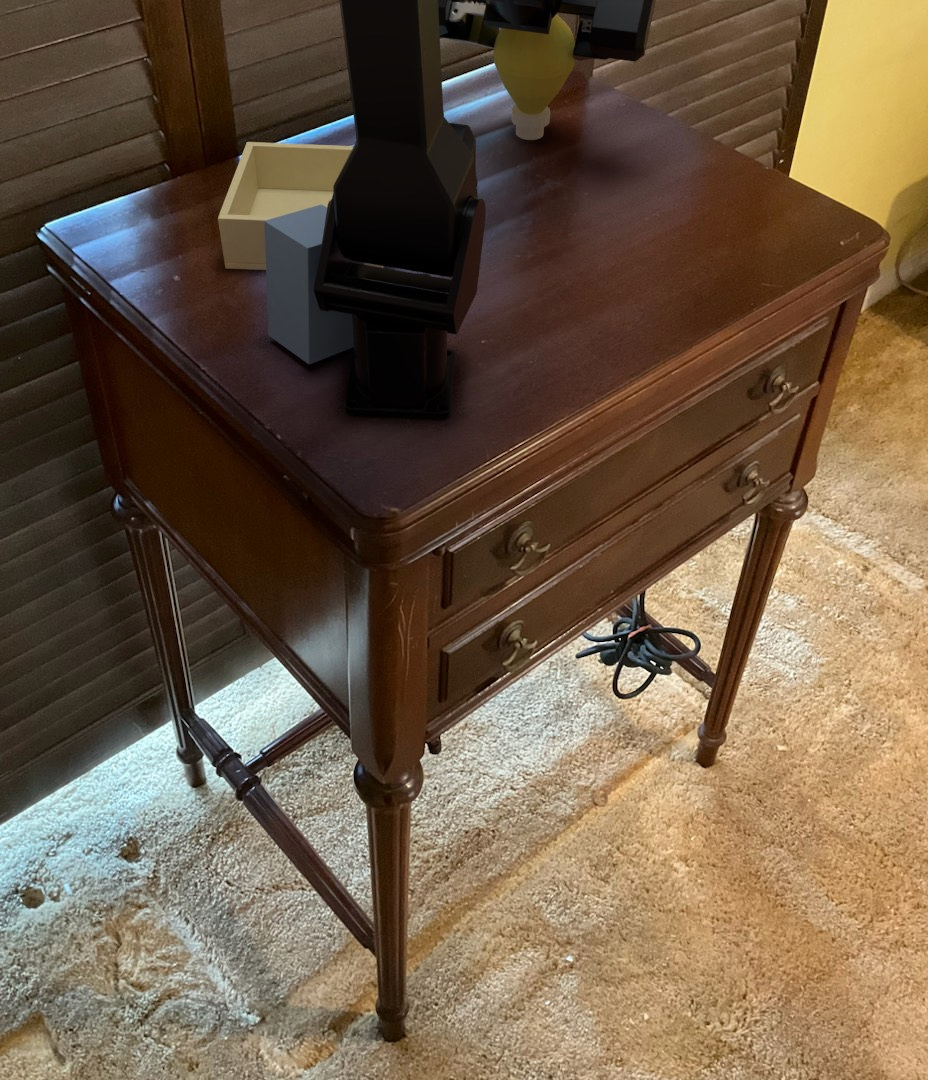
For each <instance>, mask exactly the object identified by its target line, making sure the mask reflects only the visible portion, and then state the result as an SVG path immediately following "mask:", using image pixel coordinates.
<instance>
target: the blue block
mask: <svg viewBox="0 0 928 1080" xmlns="http://www.w3.org/2000/svg"><path fill="white" fill-rule="evenodd" d="M326 213H327V207H325V206H324V205H318V206H314V207H311V208H307V209H304V210H300V211H297V212H293V213H290V214H286V215H283V216H279V217H276V218H272V219H269V220H265V221H264V227H265V254H266V270H265V277H266V281H265V282H266V305H267V333H268V337H270V338H271V339H273V340H274V341H275V342H277V343H278V344H279V345H281V346H282V347H284V348H285V349H287V350H288V351H289V352H290V353H292V354H294V355H295V356H296V357H298V358H299V359H300V360H302V361H303V362H304V363H306V364H307V365H312V364H314V363H317V362H320V361H322V360H324V359H327V358H330V357H332V356H334V355H338V354H340V353H343V352H345V351H348V350H351V349H354V342H353V326H352V314H348V313H342V312H337V311H331V310H330V311H329V312H328V311H323V310H320V309H319V306H318V303H317V300H316V297H315V293H314V284H315V279H316V274H317V269H318V264H319V259H320V252H321V246H322V239H323V232H324V226H325V219H326ZM355 263H357V264H363V265H365V263H363V262H357V261H355Z"/></svg>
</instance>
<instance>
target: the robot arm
mask: <svg viewBox="0 0 928 1080" xmlns="http://www.w3.org/2000/svg"><path fill="white" fill-rule="evenodd" d="M338 1H339V10H340V16H341V17H340V18H341V25H342V34H343V41H344V48H345V57H346V64H347V65H346V66H347V73H348V81H349V89H350V97H351V105H352V106H351V107H352V113H353V121H354V129H355V130H354V131H355V143H354V145H353V146H354V147H353V149H352V151H351V152H350V154H349V156H348V158H347V160H346V162H345V164H344V166H343V168H342V170H341V172H340V174H339V176H338V178H337V180H336V181H335V183H334V186H333V196H332V199H331V200H330V201H329V202H328V206H327V213H326V219H325V226H324V232H323V239H322V246H321V252H320V259H319V264H318V269H317V274H316V279H315V284H314V293H315V297H316V300H317V303H318V306H319V309H320V310H323V311H328V312H329V311H330V310H331V311H337V312H342V313H348V314H352V326H353V342H354V347H353V356H352V361H351V368H350V372H349V377H348V381H347V382H348V383H347V388H346V393H345V399H344V411H345V412H346V413H347V414H350V415H365V416H366V415H367V416H390V417H410V418H411V417H412V418H433V419H435V418H436V419H437V418H438V419H447V418H448V417H450V416H451V413H452V412H451V411H452V399H453V389H454V375H455V365H456V364H455V363H456V352H455V350H453V349H450V348H448V334H450V335H451V334H452V335H458V333H459V331H460V329H461V327H462V325H463V323H464V320H465V318H466V316H467V314H468V312H469V310H470V308H471V306H472V304H473V301H474V299H475V297H476V296H477V292H478V285H479V276H480V268H481V261H482V251H483V243H484V234H485V225H486V202H485V199H484V198H480V197H479V195H478V185H479V182H478V177H477V167H476V164H477V163H476V159H477V158H476V156H477V155H476V154H477V139H476V136H475V135H474V133H473V130H472V129H471V126H470V125H468V124H461V123H455V122H449V121H448V120H447V118H446V117H445V113H444V97H443V78H442V77H443V76H442V57H441V56H442V55H441V39H445V40H451V41H455V42H461V43H464V44H470V45H474V46H479V47H483V48H488V49H493V50H494V44H495V41H496V38H497V36H498V33H499V32H500V29H502V28H504V29H511V30H519V31H527V32H534V33H542V34H549V31H550V26H551V21H552V18H554V17H555V15H558V14H565V15H572V16H578V28H577V31H576V37H575V40H574V41H575V46H574V51H573V56H574V59H576V61H579V62H580V61H581V62H583V61H586V60H587V61H589V60H601V61H602V60H603V61H606V60H609V59H610V60H619V61H625V62H634V63H637V61H639V60H640V59H642V58H643V57H644V56H645V55H646V50H647V45H648V41H649V35H650V31H651V26H652V22H653V16H654V12H655V7H656V2H657V0H338ZM355 261H357V262H363V263H369V264H375V265H380V266H384V268H381V267H375V266H369V265H363V264H357V263H355ZM386 267H388V268H386ZM404 270H405V271H404ZM409 271H410V272H409ZM433 275H434V276H433ZM439 276H440V277H439ZM446 277H447V278H446Z"/></svg>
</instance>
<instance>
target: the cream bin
mask: <svg viewBox="0 0 928 1080" xmlns="http://www.w3.org/2000/svg"><path fill="white" fill-rule="evenodd" d="M353 147H354V145H336V144H335V145H334V144H313V143H311V144H309V143H288V142H287V143H284V142H283V143H282V142H261V141H260V142H259V141H258V142H257V141H247V142H246V144H245V147H244V149H243V152H242V154H241V156H240V159H239V162H238V165H237V167H236V170H235V173H234V174H233V177H232V180H231V183H230V185H229V188H228V191H227V193H226V196H225V198H224V201H223V202H222V203H223V204H222V205H221V209H220V211H219V214H218V217H217V223H218V229H219V235H220V241H221V248H222V255H223V261H224V268H225V269H227V270H228V269H229V270H252V271H266V254H265V227H264V221H265V220H269V219H272V218H276V217H279V216H283V215H286V214H290V213H293V212H297V211H300V210H304V209H307V208H311V207H314V206H318V205H324V206H325V207H327V206H328V202H329V201H330V200H331V199H332V196H333V186H334V183H335V181H336V180H337V178H338V176H339V174H340V172H341V170H342V168H343V166H344V164H345V162H346V160H347V158H348V156H349V154H350V152H351V151H352V149H353ZM365 265H369V266H375V267H381V268H385V266H380V265H375V264H369V263H365Z"/></svg>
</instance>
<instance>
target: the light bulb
mask: <svg viewBox="0 0 928 1080" xmlns="http://www.w3.org/2000/svg"><path fill="white" fill-rule="evenodd" d="M499 31H500V32H499V33H498V36H497V38H496V41H495V44H494V49H493V63H494V66H495V68H496V70H497V72H498V75H499V78H500V80H501V82H502V85H503V86H504V89H505V90H506V91H507V94H508V95H509V97H510V98H511V100H512V101H513V102H514V104H515V105H513V106H512V108H511V122H512V124H513V125H514V126H515V135H516V136H517V137H518V138H519V139H521V140H527V141H536V140H539V139H541V138H543V136H544V132H545V127H547V126H548V125H549V124H550V123H551V121H550V120H551V108H550V107H548V106H549V105H550V103H551V102H552V101H553V100H554V99H555V97H556V96H557V95H559V92H560V91H561V90H562V88H563V86H564V85H565V84H566V81H567V79H568V78H569V76H570V75H571V72H572V71H573V70H574V67H575V66H576V61H577V60H576V59H574V56H573V51H574V46H575V41H576V40H575V38H574V35H573V32H572V30H571V27H570V26H569V25H568V24H567V22H566V21H564V20H563V19H562V17H560V16H559V15H558V14H556V15H555V17H554V18H552V21H551V26H550V31H549V34H542V33H534V32H527V31H519V30H511V29H504V28H500V29H499Z"/></svg>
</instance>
